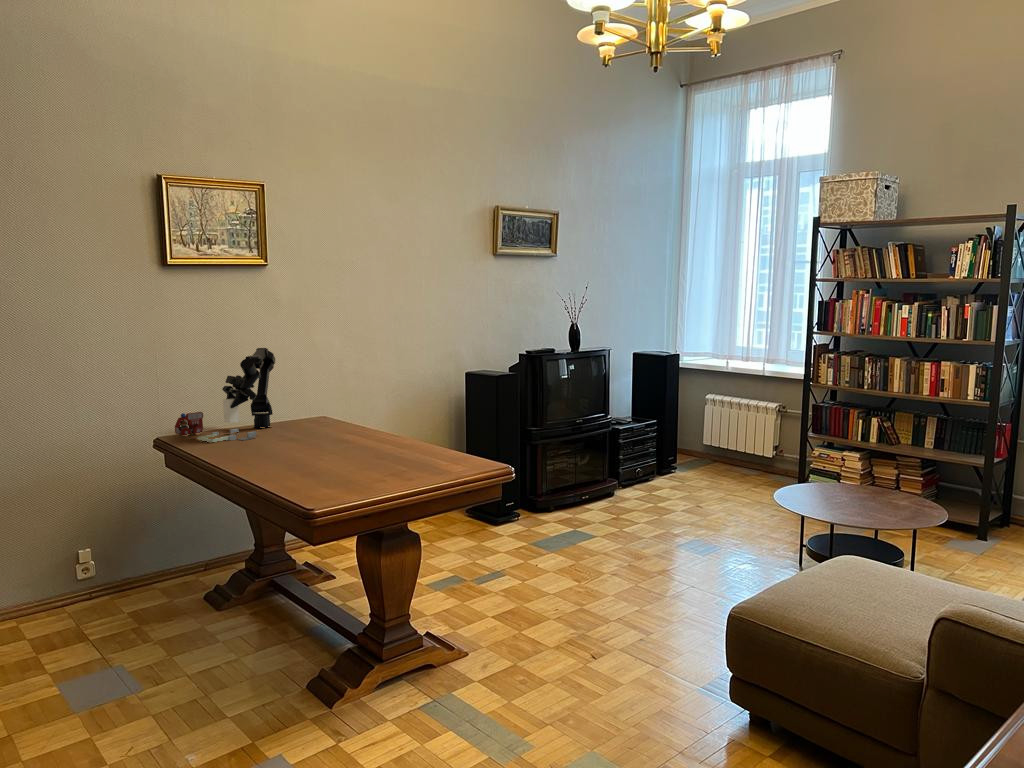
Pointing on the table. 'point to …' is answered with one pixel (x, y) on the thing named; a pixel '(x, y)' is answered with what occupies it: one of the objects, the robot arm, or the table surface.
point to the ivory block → (230, 411)
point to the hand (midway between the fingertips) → (227, 407)
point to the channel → (233, 437)
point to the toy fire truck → (189, 423)
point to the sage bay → (205, 438)
